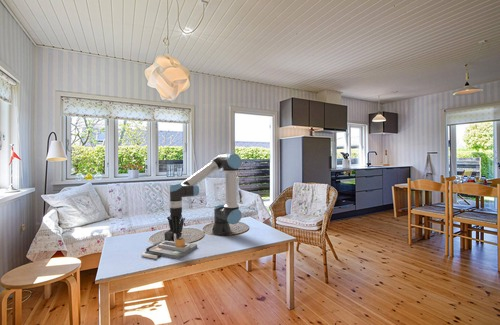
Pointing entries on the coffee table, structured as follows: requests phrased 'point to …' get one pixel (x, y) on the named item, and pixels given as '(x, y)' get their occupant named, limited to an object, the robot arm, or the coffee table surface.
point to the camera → (170, 235)
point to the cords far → (150, 255)
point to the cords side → (152, 246)
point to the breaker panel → (173, 249)
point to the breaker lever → (180, 242)
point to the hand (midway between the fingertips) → (176, 242)
